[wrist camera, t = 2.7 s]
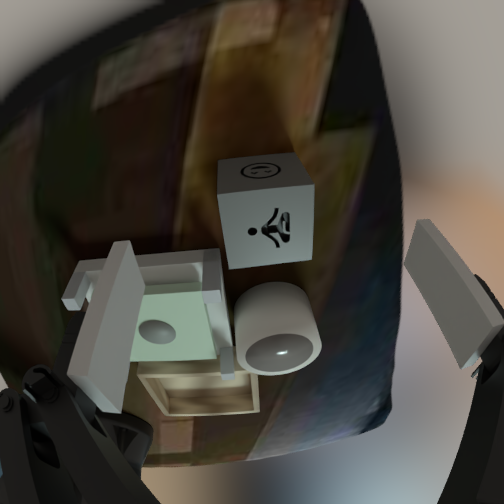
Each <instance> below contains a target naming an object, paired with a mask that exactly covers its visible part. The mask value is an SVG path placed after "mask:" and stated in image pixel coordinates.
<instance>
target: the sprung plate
mask: <svg viewBox="0 0 504 504" xmlns="http://www.w3.org/2000/svg"><path fill="white" fill-rule="evenodd" d="M94 290H95V289H94ZM94 290H93V292H94ZM92 295H93V293H92ZM92 295H91V298H92ZM204 359H217V350H216V346H215V341H214V337H213V333H212V328H211V324H210V319H209V314H208V310H207V305H206V304H204V301H203V296H202V282H191V283H178V284H164V285H150V286H145V290H144V294H143V298H142V303H141V307H140V312H139V316H138V321H137V325H136V330H135V335H134V340H133V345H132V350H131V356H130V361H182V360H204Z"/></svg>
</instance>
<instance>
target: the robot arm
mask: <svg viewBox="0 0 504 504" xmlns="http://www.w3.org/2000/svg"><path fill="white" fill-rule="evenodd" d="M404 266H405V267H406V269H407V270H408V272H409V274H410V275H411V277H412V279H413V280H414V282H415V284H416V285H417V287H418V289H419V290H420V292H421V294H422V296H423V298H424V299H425V301H426V303H427V305H428V306H429V308H430V310H431V312H432V314H433V315H434V317H435V319H436V321H437V323H438V325H439V327H440V328H441V331H442V332H443V334H444V336H445V338H446V340H447V342H448V344H449V346H450V348H451V350H452V352H453V354H454V357H455V359H456V361H457V363H458V365H459V367H460V369H463V368H466V367H469V366H471V365H473V364H474V363H475V362H476V361H477V360H478V358H479V357H481V359H482V361H483V362H482V363H481V364H480V365H479V366H478V367H477V369H476V370H475V371H474V372H473V373H472V376H471V377H472V378H473V377H474V376H475V375H476V374H477V373H478V376H477V378H476V379H477V382H476V387H475V391H474V396H473V400H472V405H471V409H470V412H469V416H468V420H467V424H466V427H465V430H464V434H463V437H462V440H461V444H460V447H459V450H458V453H457V455H456V458H455V461H454V464H453V467H452V469H451V472H450V474H449V477H448V479H447V482H446V484H445V487H444V489H443V492H442V494H441V496H440V498H439V501H438V503H437V504H504V309H503V308H502V306H501V305H500V303H499V302H498V300H497V299H495V296H494V294H493V293H492V292H491V290H490V288H489V287H488V286H487V284H486V283H485V281H483V280H482V279H481V278H480V277H479V276H478V275H476V274H475V275H473V273H472V272H471V271H470V269H469V268H468V267H467V265H466V264H465V263H464V261H463V260H462V259H461V257H460V256H459V255H458V253H457V252H456V251H455V250H454V248H453V247H452V246H451V245H450V243H449V242H448V241H447V240H446V238H445V237H444V236H443V235H442V234H441V232H440V231H439V230H438V229H437V228H436V226H435V225H434V224H433V223H432V222H431V221H430V220H429V219H423V220H417V222H416V226H415V230H414V233H413V236H412V239H411V243H410V246H409V249H408V252H407V256H406V258H405V262H404ZM144 290H145V284H144V281H143V278H142V275H141V273H140V270H139V267H138V264H137V261H136V258H135V255H134V252H133V249H132V246H131V243H130V240H128V241H118V242H114V243H113V246H112V248H111V250H110V253H109V255H108V257H107V260H106V262H105V264H104V267H103V269H102V272H101V274H100V277H99V279H98V282H97V284H96V287H95V290H94V292H93V295H92V298H91V300H90V303H89V306H88V309H87V311H86V312H76V314H75V315H74V316H73V317H72V319H71V320H70V321H69V323H68V326H67V328H66V331H65V335H64V337H63V340H62V344H61V346H60V349H59V352H58V355H57V358H56V361H55V364H54V367H53V371H52V370H51V369H50V368H49V367H48V366H46V365H44V364H38V365H35V366H33V367H31V368H30V369H29V370H28V371H27V372H26V374H25V375H24V377H23V381H22V391H23V392H24V393H25V394H21V395H20V394H18V393H17V392H16V391H15V390H14V389H11V388H6V389H4V390H2V391H1V392H0V504H161V503H160V502H159V501H158V500H157V499H156V498H155V496H154V495H153V494H152V493H151V491H150V490H149V489H148V488H147V487H146V485H145V484H144V483H143V482H142V480H141V468H142V465H143V462H144V460H145V458H146V455H147V453H148V451H149V448H150V446H151V444H152V441H153V428H152V427H151V426H150V425H149V424H148V423H146V422H144V421H143V420H141V419H139V418H136V417H134V416H131V415H128V414H125V413H122V412H121V411H122V404H123V397H124V391H125V384H126V378H127V372H128V367H129V361H130V356H131V350H132V345H133V340H134V335H135V330H136V325H137V321H138V316H139V312H140V307H141V303H142V298H143V294H144ZM96 406H97V407H96Z"/></svg>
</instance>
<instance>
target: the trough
mask: <svg viewBox="0 0 504 504" xmlns="http://www.w3.org/2000/svg"><path fill="white" fill-rule="evenodd" d="M233 356H234V372H235V379H234V380H222V377H221V367H220V355H217V359H204V360H182V361H139V362H138V369H137V376H138V377H139V379H140V380H141V382H142V383H143V385H144V386H145V388H146V389H147V391H148V392H149V394H150V395H151V396H152V398H153V399H154V401H155V402H156V404H157V405H158V406H159V408H160V409H161V410H162V412H163V413H164V415H165V416H207V415H228V414H242V413H254V412H260V409H259V392H258V374H255V373H252V372H249V371H247V370H246V369H244V368H243V367H241V366H240V364H239V363H238V361H237V354H236V346H233Z"/></svg>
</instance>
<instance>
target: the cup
mask: <svg viewBox="0 0 504 504" xmlns="http://www.w3.org/2000/svg"><path fill="white" fill-rule="evenodd" d="M234 324H235V339H236V354H237V361H238V363H239V364H240V366H241V367H243V368H244V369H246V370H247V371H249V372H252V373H255V374H261V375H280V374H286V373H290V372H293V371H296V370H299V369H301V368H303V367H305V366H306V365H308V364H310V363H311V362H312V361H313V360H314V359H315V358H316V357H317V356H318V355H319V353H320V351H321V340H320V337H319V333H318V330H317V326H316V323H315V319H314V316H313V313H312V309H311V306H310V302H309V299H308V296H307V295H306V293H305V292H304V291H303V290H302V289H301V288H300V287H298V286H296V285H293V284H290V283H286V282H268V283H263V284H260V285H257V286H254V287H252V288H250V289H249V290H247V291H246V292H244V293H243V294H242V295H241V296H240V297H239V298H238V300H237V301H236V303H235V306H234Z"/></svg>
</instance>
